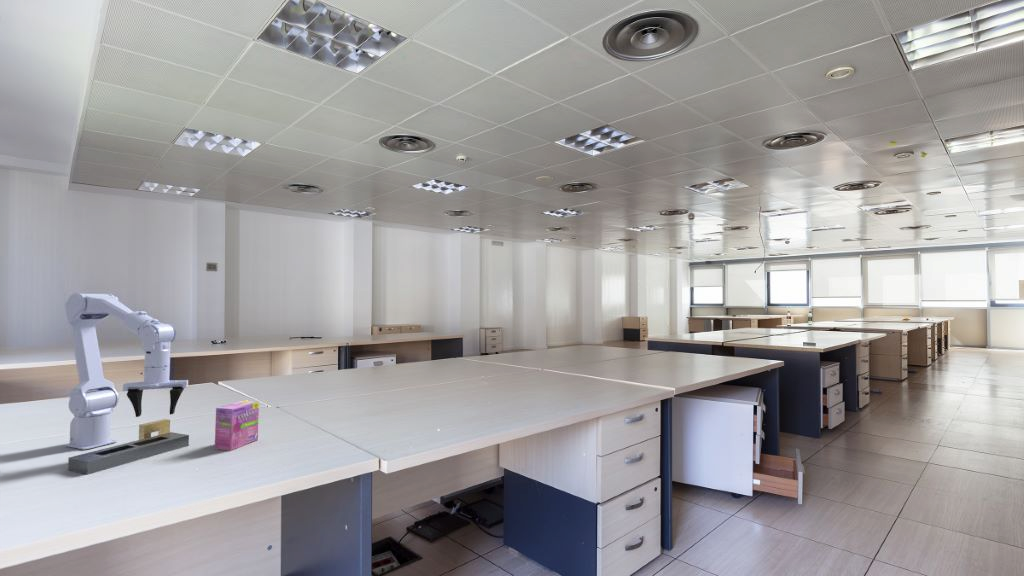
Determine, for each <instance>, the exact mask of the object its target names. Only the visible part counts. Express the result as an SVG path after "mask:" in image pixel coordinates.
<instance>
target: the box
mask: <svg viewBox="0 0 1024 576" xmlns="http://www.w3.org/2000/svg"><path fill="white" fill-rule="evenodd" d="M259 409H260V401H259V400H248V399H245V400H243V399H242V400H241V401H237V402H236V401H235V402H233V403H230V404H226V405H222V406H219V407H216V408H215V424H214V425H215V429H214V431H215V432H214V433H215V434H214V450H218V451H228V452H229V451H233V450H236V449H239V448H241V447H244V446H245V445H247V444H248V445H249V444H251V443H253V442H256V441H258V439H259Z"/></svg>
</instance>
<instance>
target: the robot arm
mask: <svg viewBox="0 0 1024 576" xmlns="http://www.w3.org/2000/svg"><path fill="white" fill-rule="evenodd" d="M64 307H65V313H66V320H67V323H68V324H69V328H70V332H71V341H72V346H73V347H72V348H73V352H74V359H75V363H76V369H77V375H78V380H79V382H78V384H76V385H75V386H74V387H73V388H72V389H71V390H70V391H69V400H68V401H69V402H68V410H69V411H70V412H71V414H73V416H74V417H73V418H72V419H71V421H70V425H69V443H65V446H66V447H69V448H74V449H79V450H85V451H86V450H89V449H93V448H97V447H102V446H106V445H110V444H114V443H118V440H117V439H111V436H110V435H111V412H114V408H116V407H117V406H118V403H119V400H120V396H119V393H118V391H117V389H115V388H116V387H115V383H114V382H113V381H111V380H108V379H107V378H105V377H104V371H103V364H102V360H101V359H102V358H101V352H100V347H99V341H98V336H97V330H96V327H97V325H98V324H99V323H102V322H104V321H105V319H107V318H109V317H110V316H112V317H113V318H115V319H118V320H119V321H122V322H123V326H124V327H125V329H127V330H129V331H130V332H132V333H134V334H136V335H137V336H138V337H139V339H140V342H141V343H142V349H143V351H144V364H143V365H144V366H143V367H144V369H143V381H137V382H125V383H123V384H122V391H123V392H126V397H127V398H128V400H129V401H130V403H131V405H132V407H133V410H134V414H135V418H140V417H141V416H142V403H143V402H142V399H143V393H144V390H159V389H161V390H162V389H164V390H165V389H170V390H169V398H170V399H169V400H170V403H169V404H170V405H169V415H173V414H175V411H176V407H177V404H178V401H179V399H180V398H181V395H182V393H183V392H184V389H186V388H188V387H189V379H179V380H178V379H177V380H176V379H175V380H174V379H170V373H171V371H170V370H171V365H170V364H171V346H172V345H171V343H173V341H175V339H176V337H177V330H176V327H175V326H174V325H173V324H172V323H170V322H165V323H162V322H160V321H159V319H157V318H153V317H152V316H150V315H148V312H146V311H144V310H143V311H138V310H137V311H134V310H132V309H131V308H129V307H127V306H126V305H125V304H123V303H122V302H121V301H119V297H118V296H115V295H113V294H112V293H108V292H107V293H81V292H73V293H72V294H71V295H69V296H68V299H67V300H66V302H65V303H64Z"/></svg>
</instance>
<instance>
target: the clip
mask: <svg viewBox="0 0 1024 576" xmlns="http://www.w3.org/2000/svg"><path fill="white" fill-rule="evenodd" d="M169 432H171V419H167V418H163V419H159V420H156V421H149V422H144V423H141V424H139V425H138V440H141V439H145V438H149V437H152V433H157V435H161V434H165V433H169Z"/></svg>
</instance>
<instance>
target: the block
mask: <svg viewBox="0 0 1024 576" xmlns="http://www.w3.org/2000/svg"><path fill="white" fill-rule="evenodd" d="M189 441H190V435H189V434H184V433H179V432H174V431H173V432H172V431H170V432H169V433H165V434H161V435H158V434H157V435H153V436H151V437H149V438H145V439H141V440H139V439H138V440H134V441H130V442H126V443H122V444H118V445H114V446H110V447H105V448H101V449H98V450H94V451H89V452H85V453H82V454H77V455H73V456H69V457H68V462H67V471H72V472H77V473H80V474H84V475H90V474H93V473H97V472H101V471H105V470H108V469H112V468H115V467H119V466H122V465H125V464H130V463H132V462H133V463H134V462H136V461H140V460H143V459H146V458H150V457H153V456H157V455H161V454H164V453H168V452H171V451H175V450H177V449H182V448H184V447H188V446H189V445H190V443H189Z"/></svg>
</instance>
